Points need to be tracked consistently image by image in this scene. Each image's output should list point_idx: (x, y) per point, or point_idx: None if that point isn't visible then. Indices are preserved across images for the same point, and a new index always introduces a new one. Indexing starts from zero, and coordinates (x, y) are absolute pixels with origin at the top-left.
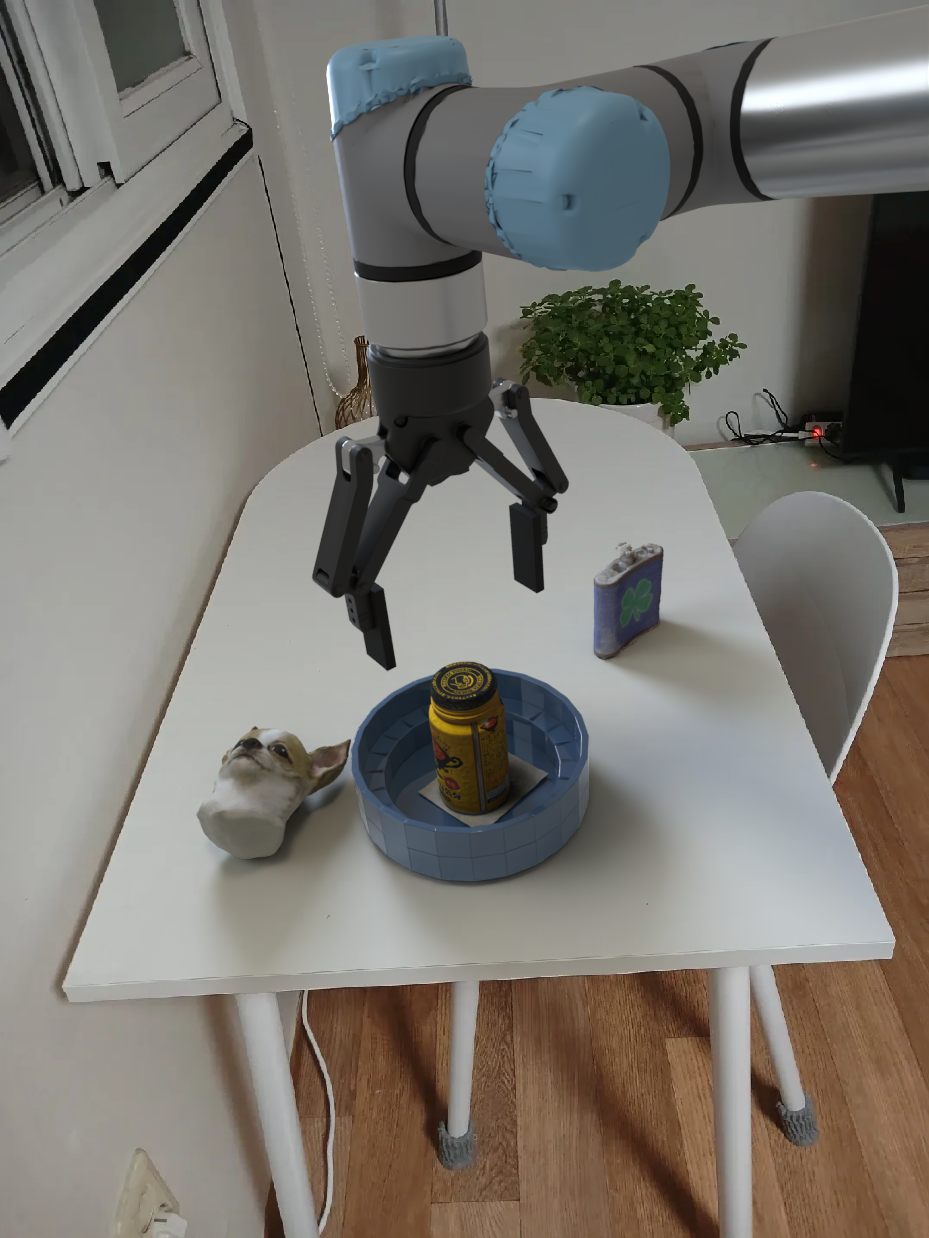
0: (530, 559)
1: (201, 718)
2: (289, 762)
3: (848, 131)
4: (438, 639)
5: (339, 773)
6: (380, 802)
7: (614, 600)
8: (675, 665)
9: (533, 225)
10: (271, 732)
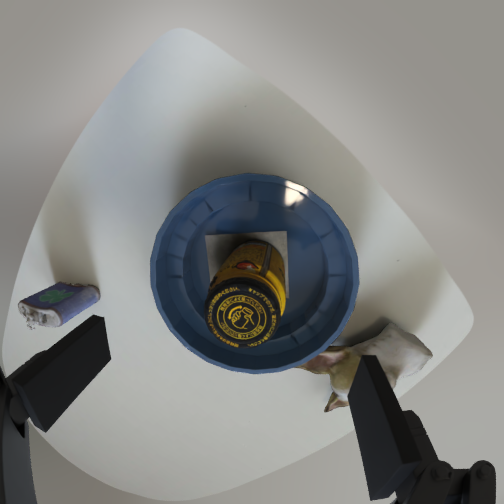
0: (75, 352)
1: (327, 433)
2: None
3: None
4: (169, 388)
5: None
6: (353, 288)
7: (62, 303)
8: (73, 247)
9: None
10: None
